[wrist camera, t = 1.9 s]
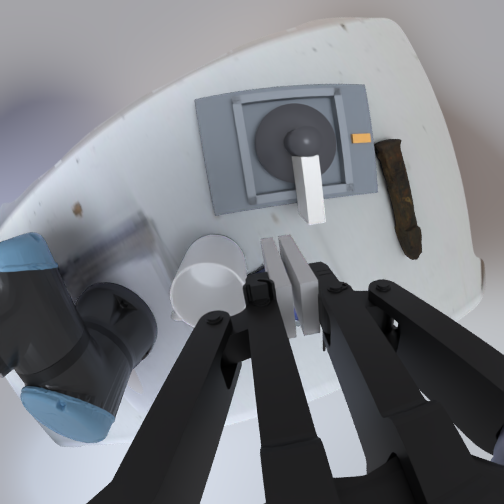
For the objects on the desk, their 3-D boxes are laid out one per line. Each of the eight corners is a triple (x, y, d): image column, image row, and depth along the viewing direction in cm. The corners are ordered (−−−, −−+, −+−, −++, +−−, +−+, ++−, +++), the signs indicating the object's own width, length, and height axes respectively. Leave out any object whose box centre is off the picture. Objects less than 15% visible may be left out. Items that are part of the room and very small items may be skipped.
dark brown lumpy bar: (368, 143, 35) (383, 143, 30) (390, 137, 34) (407, 137, 30) (391, 259, 41) (405, 271, 37) (410, 251, 41) (425, 262, 37)
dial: (248, 110, 30) (251, 100, 24) (325, 103, 30) (345, 93, 24) (265, 215, 35) (271, 230, 28) (338, 205, 35) (359, 217, 28)
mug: (158, 274, 40) (136, 312, 30) (216, 220, 37) (208, 245, 27) (199, 311, 42) (190, 356, 32) (258, 263, 40) (264, 301, 30)
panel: (216, 211, 37) (214, 219, 33) (197, 102, 32) (192, 96, 28) (370, 189, 37) (383, 194, 33) (357, 87, 32) (370, 82, 28)
